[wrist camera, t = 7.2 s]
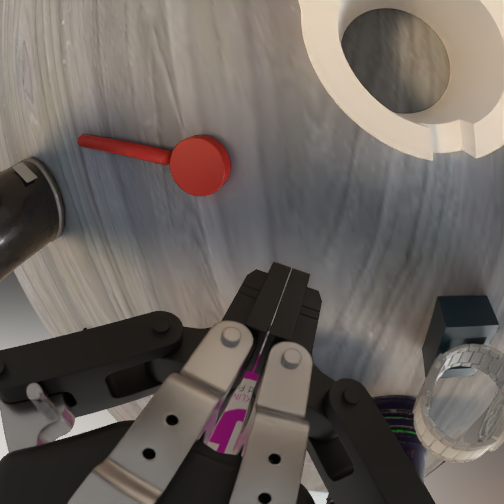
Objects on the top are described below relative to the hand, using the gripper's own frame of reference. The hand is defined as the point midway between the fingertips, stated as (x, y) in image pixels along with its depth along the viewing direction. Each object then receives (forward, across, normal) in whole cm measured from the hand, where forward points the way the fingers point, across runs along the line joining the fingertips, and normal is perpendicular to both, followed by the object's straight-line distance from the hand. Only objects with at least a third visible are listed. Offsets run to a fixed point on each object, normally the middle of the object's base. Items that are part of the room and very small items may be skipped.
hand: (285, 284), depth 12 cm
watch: (+8, -14, +4) cm, 16 cm away
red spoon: (+7, +11, -1) cm, 13 cm away
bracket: (+8, 0, -16) cm, 17 cm away
